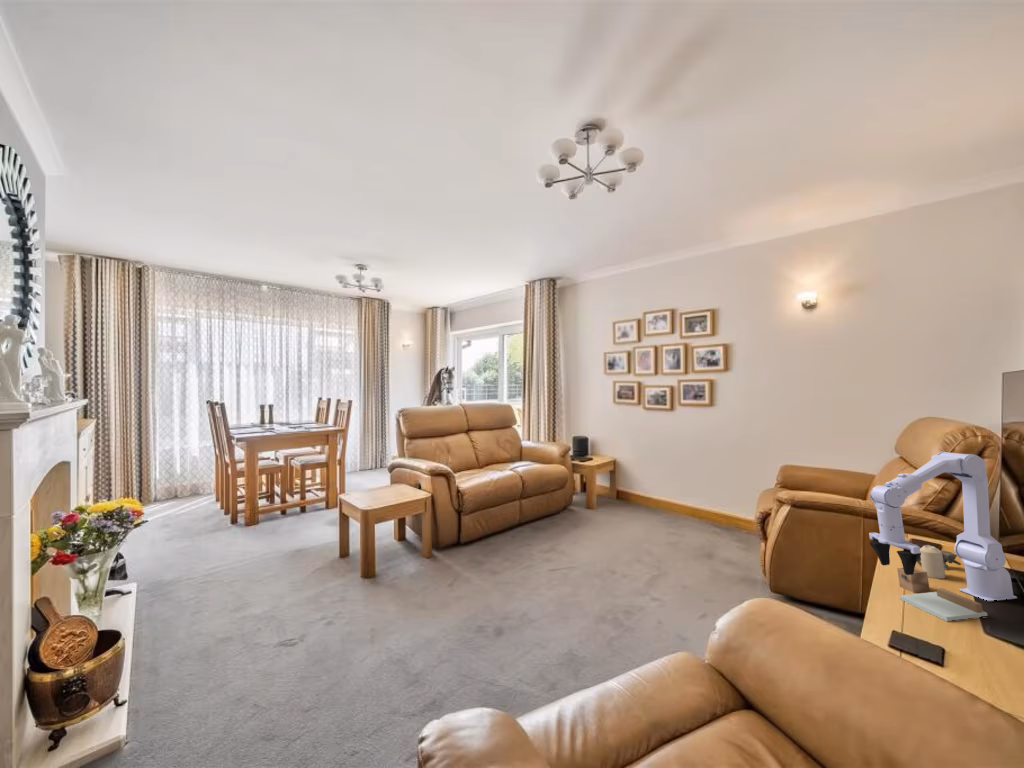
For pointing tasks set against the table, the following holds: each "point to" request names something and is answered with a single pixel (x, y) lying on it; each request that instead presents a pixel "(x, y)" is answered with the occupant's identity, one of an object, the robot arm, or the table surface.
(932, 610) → the wall board
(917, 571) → the cabinet block
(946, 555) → the dog figurine
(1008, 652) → the table surface
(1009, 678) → the table surface
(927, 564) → the candle
